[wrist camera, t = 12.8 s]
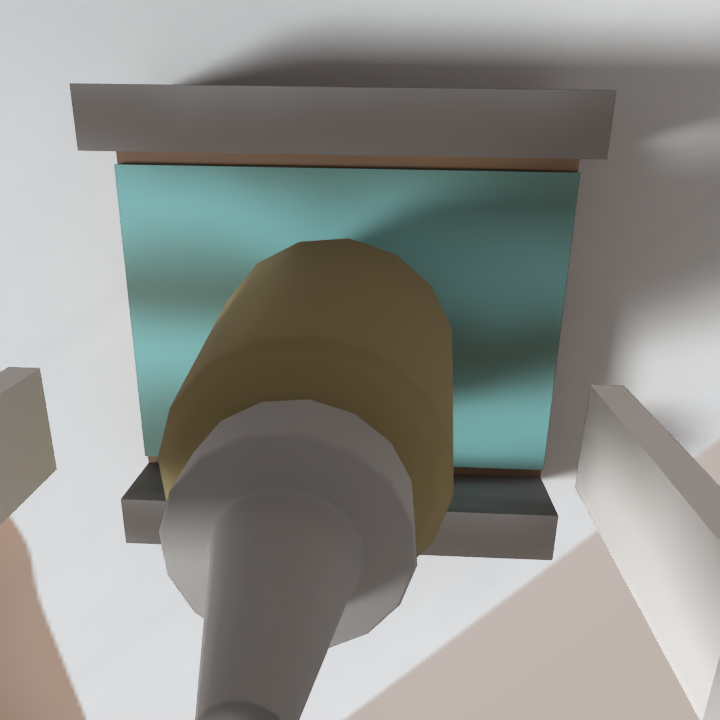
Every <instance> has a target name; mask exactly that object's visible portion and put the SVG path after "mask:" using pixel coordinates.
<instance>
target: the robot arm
mask: <svg viewBox="0 0 720 720" xmlns="http://www.w3.org/2000/svg"><path fill="white" fill-rule="evenodd" d="M55 470H56V463H55V457H54V451H53V445H52V439H51V433H50V427H49V421H48V415H47V409H46V403H45V397H44V391H43V385H42V379H41V373H40V368H19V367H8V368H6V369H5V370H3V371H1V372H0V525H1V524H2V523H3V522H4V521H5V520H6V519H7V518H8V517H9V516H10V515H11V514H12V513H13V512H14V511H15V510H16V509H17V508H18V507H19V506H20V505H21V504H22V503H23V502H24V501H25V500H26V499H27V498H28V497H29V496H30V495H31V494H32V493H33V492H34V491H35V490H36V489H37V488H38V487H39V486H40V485H41V484H42V483H43V482H44V481H45V480H46V479H47V478H48V477H49V476H50V475H51V474H52V473H53V472H54V471H55ZM575 488H576V490H577V492H578V494H579V496H580V498H581V500H582V501H583V503H584V505H585V507H586V509H587V511H588V513H589V515H590V516H591V518H592V520H593V522H594V524H595V526H596V528H597V529H598V531H599V533H600V535H601V537H602V539H603V541H604V542H605V544H606V546H607V548H608V550H609V551H610V554H611V556H612V557H613V559H614V561H615V563H616V565H617V567H618V569H619V570H620V572H621V574H622V576H623V578H624V580H625V582H626V584H627V585H628V587H629V589H630V591H631V593H632V595H633V597H634V598H635V600H636V602H637V604H638V606H639V608H640V610H641V611H642V613H643V615H644V617H645V619H646V621H647V623H648V625H649V626H650V628H651V630H652V632H653V634H654V636H655V638H656V640H657V641H658V643H659V645H660V647H661V649H662V651H663V653H664V654H665V656H666V658H667V660H668V662H669V664H670V666H671V667H672V669H673V671H674V673H675V675H676V677H677V679H678V681H679V682H680V684H681V686H682V688H683V690H684V692H685V694H686V696H687V697H688V699H689V701H690V703H691V705H692V707H693V709H694V710H695V712H696V714H697V716H698V718H699V720H720V486H719V485H718V484H717V483H716V482H715V480H714V479H713V478H712V477H711V476H710V475H709V474H708V473H707V472H706V471H705V470H704V469H703V468H702V467H701V466H700V465H699V464H698V463H697V462H696V461H695V459H694V458H693V457H692V456H691V455H690V454H689V453H688V452H687V451H686V450H685V449H684V448H683V447H682V446H681V445H680V444H679V443H678V442H677V441H676V440H675V439H674V438H673V436H672V435H671V434H670V433H669V432H668V431H667V430H666V429H665V428H664V427H663V426H662V425H661V424H660V423H659V422H658V421H657V420H656V419H655V418H654V417H653V416H652V415H651V413H650V412H649V411H648V410H647V409H646V408H645V407H644V406H643V405H642V404H641V403H640V402H639V401H638V400H637V399H636V398H635V397H634V396H633V395H632V394H631V393H630V392H629V390H628V389H627V388H626V387H625V386H624V385H590V391H589V398H588V405H587V411H586V418H585V425H584V431H583V438H582V445H581V451H580V458H579V465H578V471H577V478H576V485H575Z"/></svg>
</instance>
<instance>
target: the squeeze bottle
mask: <svg viewBox="0 0 720 720" xmlns="http://www.w3.org/2000/svg"><path fill="white" fill-rule="evenodd" d="M158 462H159V467H160V472H161V477H162V482H163V487H164V492H165V497H166V502H167V503H166V507H165V510H164V514H163V518H162V522H161V526H160V530H159V535H160V540H161V545H162V550H163V554H164V559H165V564H166V569H167V573H168V576H169V577H170V578H171V580H172V581H173V583H174V584H175V585H176V587H177V588H178V590H179V591H180V592H181V594H182V595H183V597H184V598H185V600H186V601H187V602H188V604H189V605H190V607H191V608H192V609H193V611H194V612H195V613H197V614H198V615H200V616H201V617H203V618H204V626H203V638H202V649H201V660H200V672H199V683H198V694H197V706H196V717H195V720H299V719H300V716H301V714H302V711H303V709H304V706H305V704H306V702H307V699H308V697H309V694H310V692H311V689H312V687H313V684H314V682H315V680H316V677H317V675H318V672H319V670H320V667H321V665H322V662H323V660H324V658H325V655H326V653H327V650H328V648H330V647H333V646H335V645H338V644H341V643H343V642H346V641H349V640H351V639H354V638H357V637H359V636H362V635H365V634H367V633H369V632H370V631H371V630H372V629H373V628H374V627H375V626H376V625H378V624H379V623H380V622H381V621H382V620H383V619H384V618H385V617H386V616H388V615H389V614H390V613H391V612H392V611H393V610H394V609H395V608H397V607H398V606H399V605H400V603H401V601H402V599H403V596H404V594H405V592H406V590H407V587H408V585H409V583H410V580H411V578H412V576H413V573H414V571H415V569H416V566H417V557H418V556H419V555H420V554H421V553H422V552H423V551H424V550H425V549H426V548H427V547H429V546H430V545H431V544H432V543H433V542H434V539H435V537H436V535H437V532H438V530H439V528H440V526H441V523H442V521H443V519H444V516H445V514H446V512H447V510H448V507H449V505H450V503H451V500H452V498H453V496H454V495H453V359H452V328H451V326H450V324H449V321H448V319H447V317H446V315H445V313H444V311H443V309H442V307H441V305H440V302H439V300H438V298H437V296H436V294H435V292H434V290H433V288H432V286H431V285H430V284H429V283H428V282H427V281H425V280H424V279H423V278H422V277H421V276H420V275H419V274H417V273H416V272H415V271H414V270H413V269H412V268H411V267H410V266H408V265H407V264H406V263H405V262H404V261H403V260H402V259H400V258H399V257H398V256H397V255H396V254H394V253H391V252H388V251H385V250H382V249H379V248H376V247H373V246H370V245H367V244H364V243H361V242H358V241H355V240H352V239H349V238H345V239H331V240H316V241H302V242H298V243H296V244H294V245H292V246H290V247H288V248H286V249H284V250H282V251H280V252H278V253H276V254H275V255H273V256H271V257H269V258H267V259H265V260H263V261H261V262H259V263H257V264H256V265H255V267H254V268H253V269H252V270H251V272H250V273H249V274H248V275H247V276H246V278H245V279H244V280H243V281H242V283H241V284H240V285H239V286H238V288H237V289H236V290H235V291H234V293H233V294H232V295H231V296H230V298H229V299H228V300H227V302H226V304H225V306H224V308H223V310H222V312H221V313H220V315H219V317H218V319H217V321H216V323H215V325H214V326H213V328H212V330H211V332H210V334H209V336H208V338H207V339H206V341H205V343H204V345H203V347H202V349H201V351H200V352H199V354H198V356H197V358H196V360H195V362H194V364H193V365H192V367H191V369H190V371H189V373H188V375H187V377H186V379H185V380H184V382H183V384H182V386H181V388H180V390H179V392H178V393H177V395H176V397H175V399H174V401H173V403H172V405H171V406H170V409H169V413H168V418H167V422H166V426H165V430H164V434H163V438H162V442H161V446H160V450H159V454H158Z"/></svg>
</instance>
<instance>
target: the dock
mask: <svg viewBox="0 0 720 720" xmlns="http://www.w3.org/2000/svg"><path fill="white" fill-rule="evenodd" d="M70 90H71V98H72V106H73V114H74V122H75V130H76V138H77V147H78V150H86V151H116V153H117V162H118V164H114V166H115V175H116V185H117V194H118V204H119V213H120V223H121V232H122V241H123V251H124V260H125V270H126V279H127V288H128V298H129V307H130V317H131V326H132V335H133V345H134V354H135V364H136V373H137V383H138V392H139V401H140V411H141V420H142V430H143V439H144V448H145V456H148V459H149V463H148V465H147V466H146V467H145V469H144V470H143V471H142V473H141V474H140V475H139V477H138V478H137V479H136V480H135V482H134V483H133V484H132V486H131V487H130V488H129V490H128V491H127V492H126V493H125V495H124V496H123V497H122V499H121V503H122V511H123V520H124V528H125V536H126V543H146V544H161V540H160V535H159V530H160V526H161V522H162V518H163V514H164V510H165V507H166V503H167V502H166V497H165V492H164V487H163V482H162V477H161V472H160V467H159V462H158V454H159V450H160V446H161V442H162V438H163V434H164V430H165V426H166V422H167V418H168V413H169V409H170V406H171V405H172V403H173V401H174V399H175V397H176V395H177V393H178V392H179V390H180V388H181V386H182V384H183V382H184V380H185V379H186V377H187V375H188V373H189V371H190V369H191V367H192V365H193V364H194V362H195V360H196V358H197V356H198V354H199V352H200V351H201V349H202V347H203V345H204V343H205V341H206V339H207V338H208V336H209V334H210V332H211V330H212V328H213V326H214V325H215V323H216V321H217V319H218V317H219V315H220V313H221V312H222V310H223V308H224V306H225V304H226V302H227V300H228V299H229V298H230V296H231V295H232V294H233V293H234V291H235V290H236V289H237V288H238V286H239V285H240V284H241V283H242V281H243V280H244V279H245V278H246V276H247V275H248V274H249V273H250V272H251V270H252V269H253V268H254V267H255V265H256V264H257V263H259V262H261V261H263V260H265V259H267V258H269V257H271V256H273V255H275V254H276V253H278V252H280V251H282V250H284V249H286V248H288V247H290V246H292V245H294V244H296V243H298V242H302V241H316V240H331V239H345V238H349V239H352V240H355V241H358V242H361V243H364V244H367V245H370V246H373V247H376V248H379V249H382V250H385V251H388V252H391V253H394V254H396V255H397V256H398V257H399V258H400V259H402V260H403V261H404V262H405V263H406V264H407V265H408V266H410V267H411V268H412V269H413V270H414V271H415V272H416V273H417V274H419V275H420V276H421V277H422V278H423V279H424V280H425V281H427V282H428V283H429V284H430V285H431V286H432V288H433V290H434V292H435V294H436V296H437V298H438V300H439V302H440V305H441V307H442V309H443V311H444V313H445V315H446V317H447V319H448V321H449V324H450V326H451V328H452V359H453V495H454V496H453V498H452V500H451V503H450V505H449V507H448V510H447V512H446V514H445V516H444V519H443V521H442V523H441V526H440V528H439V530H438V532H437V535H436V537H435V539H434V542H433V543H432V544H431V545H430V546H429V547H427V548H426V549H425V550H424V551H423V552H422V553H421V554H420V555H439V556H464V557H488V558H513V559H537V560H552V558H553V550H554V543H555V536H556V528H557V521H558V515H557V512H556V510H555V508H554V506H553V504H552V502H551V499H550V497H549V495H548V493H547V491H546V488H545V486H544V484H543V482H542V480H541V478H540V475H541V470H543V467H544V459H545V451H546V443H547V435H548V427H549V419H550V411H551V403H552V395H553V386H554V378H555V370H556V362H557V354H558V346H559V338H560V330H561V322H562V314H563V306H564V298H565V290H566V282H567V274H568V266H569V258H570V250H571V241H572V233H573V225H574V217H575V209H576V201H577V193H578V185H579V177H580V173H578V165H579V159H607V155H608V147H609V140H610V133H611V125H612V118H613V111H614V104H615V96H616V91H612V90H535V89H457V88H380V87H303V86H226V85H149V84H71V83H70Z"/></svg>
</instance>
